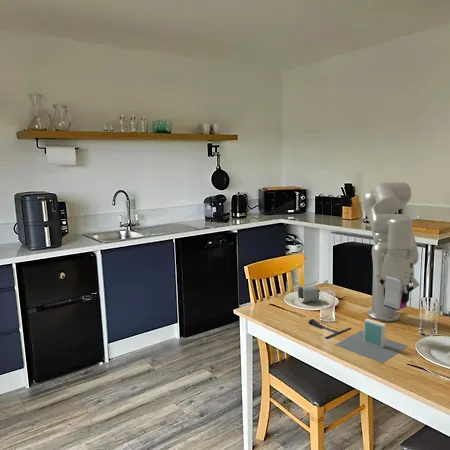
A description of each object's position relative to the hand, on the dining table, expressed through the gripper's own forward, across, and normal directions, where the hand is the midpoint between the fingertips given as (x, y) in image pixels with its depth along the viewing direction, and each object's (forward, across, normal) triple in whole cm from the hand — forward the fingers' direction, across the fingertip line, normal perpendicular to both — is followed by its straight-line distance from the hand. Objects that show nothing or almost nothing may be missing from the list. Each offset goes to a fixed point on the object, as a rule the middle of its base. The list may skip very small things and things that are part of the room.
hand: (395, 299), depth 146 cm
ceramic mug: (+16, +46, -9) cm, 50 cm away
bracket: (+15, +21, +13) cm, 29 cm away
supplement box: (+3, 0, 0) cm, 3 cm away
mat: (+14, +1, +14) cm, 20 cm away
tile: (+14, +1, +12) cm, 18 cm away
